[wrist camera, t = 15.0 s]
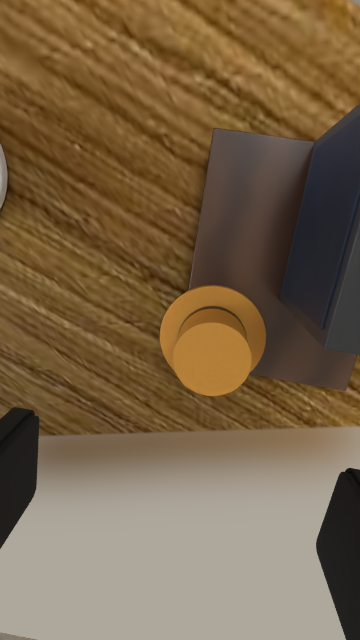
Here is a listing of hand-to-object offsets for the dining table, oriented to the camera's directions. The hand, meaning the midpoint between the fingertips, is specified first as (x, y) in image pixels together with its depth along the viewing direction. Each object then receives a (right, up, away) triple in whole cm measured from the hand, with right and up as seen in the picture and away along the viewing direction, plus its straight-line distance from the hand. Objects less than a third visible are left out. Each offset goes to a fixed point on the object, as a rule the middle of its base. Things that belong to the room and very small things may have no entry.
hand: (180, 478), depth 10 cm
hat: (+3, +3, +19) cm, 20 cm away
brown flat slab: (+9, +10, +21) cm, 25 cm away
